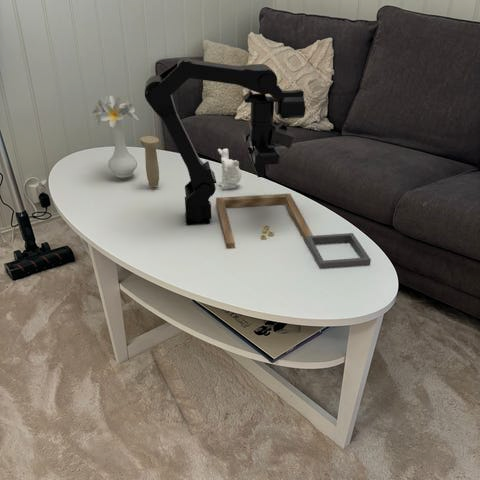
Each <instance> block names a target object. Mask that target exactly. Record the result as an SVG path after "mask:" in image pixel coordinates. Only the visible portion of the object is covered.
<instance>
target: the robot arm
mask: <svg viewBox="0 0 480 480" xmlns="http://www.w3.org/2000/svg"><path fill="white" fill-rule="evenodd" d="M189 79H193V80H199V81H208V82H216V83H221V84H228V85H229V84H230V85H236V86H239V87H243V88H244V89H247V90H248V91H247V93H246V94H244V95H243V96H242V100H243V101H244V103H245V104H247V103H248V104H249V103H250V120H248V126H249V129H246V130H245V131H244V132H243V140H244V144H247V143H248V142H249V144H250V146H249V147H247V152H248V155H249V157H250V159H251V160H250V161H251V163H252V165H253V167H254V170H255V173H256V176H257V178H262V177H263V175H264V172H265V169H266V167H267V166H266V165H278V164H280V162H281V155H280V153H279V151H278V150H277V149H276V148H275V147H276V144H277V145H279V146H282V147H285V148H286V149H291V148H292V145H293V143H294V141H295V139H296V136H295V134H294V133H293V132H291V131H290V130H288V125H287V124H286V123H283V122H280V123H279V124H278V125H275V124H274V114H275V115H276V116H279V119H281V120H286V119H303V118H304V117H305V115H306V103H305V102H306V101H305V97H304V93H305V91H303V90H302V89H294V90H283V89H282V88H281V86H280V85H278V76H277V74H276V73H275V71H274V70H273V69H272V68H271V66H269V65H267V64H265V63H255V64H253V63H252V64H245V65H233V64H225V63H218V62H211V61H205V60H198V59H191V58H189V57H181V58H179V60H178V61H177V62H176V63H174V64H173V65H171V66H170V67H168V68H167V69H165V70H164V71H163V72H162V73H160V74H159V75H153V76H150V77H149V78H148V79H147V81H146V82H145V88H144V97H145V101H146V102H147V103H148V105H149V106H150V107H151V108H152V110H153V111H154V112H155V114H156V115H157V116H158V117H159V118H160V119H161V120H162V122H163V123H164V125H165V127H166V129H167V131H168V133H169V135H170V137H171V139H172V141H173V143H174V145H175V147H176V149H177V151H178V152H179V155H180V157H181V159H182V161H183V162H184V164H185V166H186V168H187V171H188V176H189V180H190V181H188V182H187V183H186V185H185V186H184V191H185V196H184V208H185V212H184V215H185V216H184V217H185V225H186V226H196V225H197V226H198V225H199V226H200V225H210V224H211V219H212V203H211V201H210V198H211V197H213V196H214V194H215V192H216V184H217V179H216V174H215V172H214V171H213V170H212V168H211V166H210V165H211V164H210V163H209V160H206V161H205V162H203V161H202V159H201V158H200V157H199V154H198V153H197V151H196V149H195V147H194V144H193V143H192V141H191V138H190V136H189V134H188V132H187V131H186V128H185V126H184V124H183V122H182V120H181V118H180V116H179V114H178V112H177V109H176V105H175V102H174V98H173V94H174V93H175V92H176V91H178V89H179V88H181V86H182V85H183V84H184V83H185V82H187V81H188V80H189ZM267 95H269V96H267ZM274 112H275V113H274Z"/></svg>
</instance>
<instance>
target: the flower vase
mask: <svg viewBox="0 0 480 480" xmlns="http://www.w3.org/2000/svg"><path fill="white" fill-rule="evenodd" d="M104 99H105V100H104ZM104 99H102V98H101V97H99V98H98V99H97V103H96V104H95V108H94V109H93V110H92V114H95V117H94V122H96V127H95V128H96V129H97V128H98V126H99V125H100V122H107V121H109V126H110V128H111V129H112V130H113V136H114V137H113V139H114V151H113V153H112V156H111V157H110V158H109V159H108V162H107V167H108V170H110V172H111V173H113V174H114V176H115V177H116V178H122V179H123V178H129V177H131V176H133V175H134V172H135V170H136V169H137V168H138V161H137V159H136V158H135V157H134V156H133V155H132V154H131V153H130V152H129V150H128V148H127V145H126V140H125V133H124V120H125V116H124V115H127V116H129V117H131V118H132V119H134V120H136V121H138V122H139V118H138V116H137V115H136V114H135V112H136V111H135V107H134V105H133V104H132V103H131V102H130V101H129V98H128V97H126V99H125V100H126V101H125V102H123V100H122V98H121V97H120V96H119V97H118V96H117V97H116V98H114V96H113V95H107V96H106V97H105V98H104Z"/></svg>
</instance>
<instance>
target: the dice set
mask: <svg viewBox="0 0 480 480" xmlns="http://www.w3.org/2000/svg"><path fill="white" fill-rule="evenodd" d="M269 230H270V226H268V225H264V226H263V229H261V233H262V235H261V236H260V239H261V240H263V241H265V240H267V236H266V235H265V234H267V235H268V237H274V236H275V232H274V231H269Z"/></svg>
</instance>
